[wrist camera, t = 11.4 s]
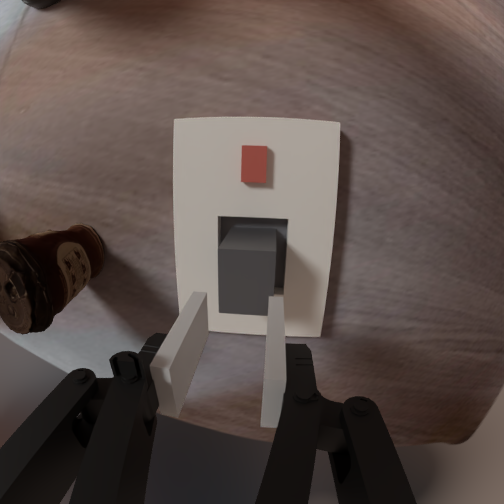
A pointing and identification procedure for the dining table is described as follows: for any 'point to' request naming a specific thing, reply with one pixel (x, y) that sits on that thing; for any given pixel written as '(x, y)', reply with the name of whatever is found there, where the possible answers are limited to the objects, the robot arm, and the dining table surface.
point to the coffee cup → (45, 275)
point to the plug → (246, 270)
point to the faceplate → (257, 209)
